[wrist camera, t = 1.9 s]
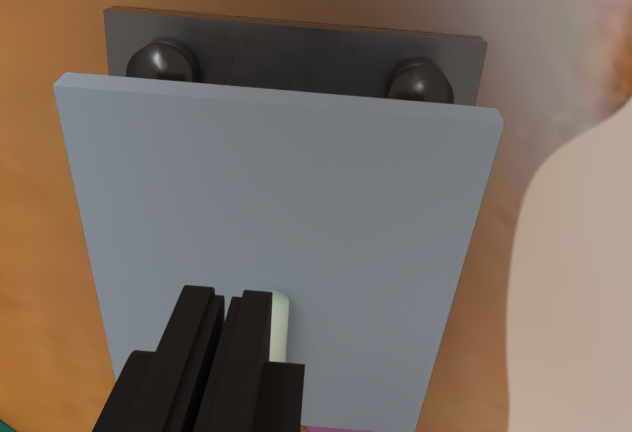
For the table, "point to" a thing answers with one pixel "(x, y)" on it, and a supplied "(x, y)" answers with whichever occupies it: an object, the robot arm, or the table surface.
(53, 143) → the table surface
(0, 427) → the digital multimeter
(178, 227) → the plate
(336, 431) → the toy chair
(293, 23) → the leveling stand
